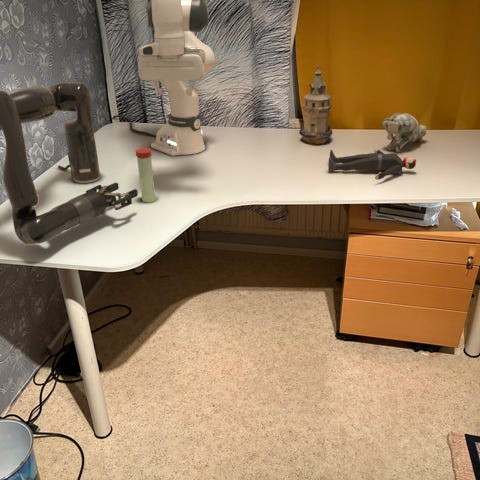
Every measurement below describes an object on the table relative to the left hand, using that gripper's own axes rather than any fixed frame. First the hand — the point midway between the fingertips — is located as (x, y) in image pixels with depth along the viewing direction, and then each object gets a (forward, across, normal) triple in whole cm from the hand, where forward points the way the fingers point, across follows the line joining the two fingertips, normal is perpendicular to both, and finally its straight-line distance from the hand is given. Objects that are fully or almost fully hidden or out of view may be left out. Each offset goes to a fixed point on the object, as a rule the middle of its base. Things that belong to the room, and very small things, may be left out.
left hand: (127, 188), depth 164 cm
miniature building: (+89, -15, +7) cm, 91 cm away
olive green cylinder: (+8, 0, +7) cm, 11 cm away
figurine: (+102, -48, +7) cm, 112 cm away
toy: (+72, -48, +7) cm, 86 cm away
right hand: (+20, -3, -25) cm, 32 cm away
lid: (+8, 0, -10) cm, 13 cm away
